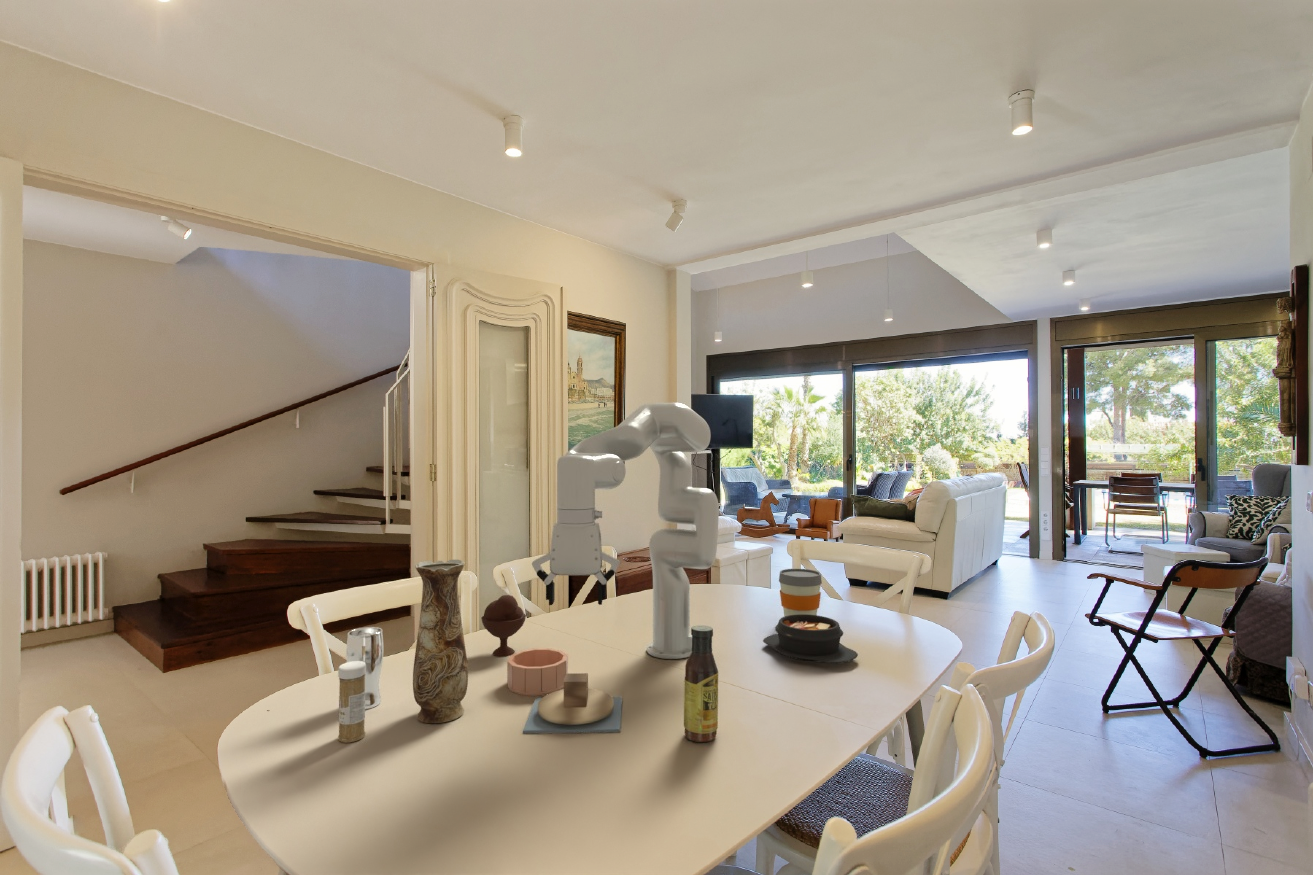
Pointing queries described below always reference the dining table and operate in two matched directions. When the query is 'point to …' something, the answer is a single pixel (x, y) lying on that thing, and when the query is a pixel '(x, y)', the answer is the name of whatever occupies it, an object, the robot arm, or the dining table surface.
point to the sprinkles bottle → (351, 701)
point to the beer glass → (367, 659)
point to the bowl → (537, 671)
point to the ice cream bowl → (503, 622)
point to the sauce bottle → (701, 688)
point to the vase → (440, 645)
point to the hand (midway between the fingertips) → (576, 603)
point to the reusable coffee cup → (800, 591)
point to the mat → (604, 725)
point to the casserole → (810, 639)
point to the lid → (575, 702)
